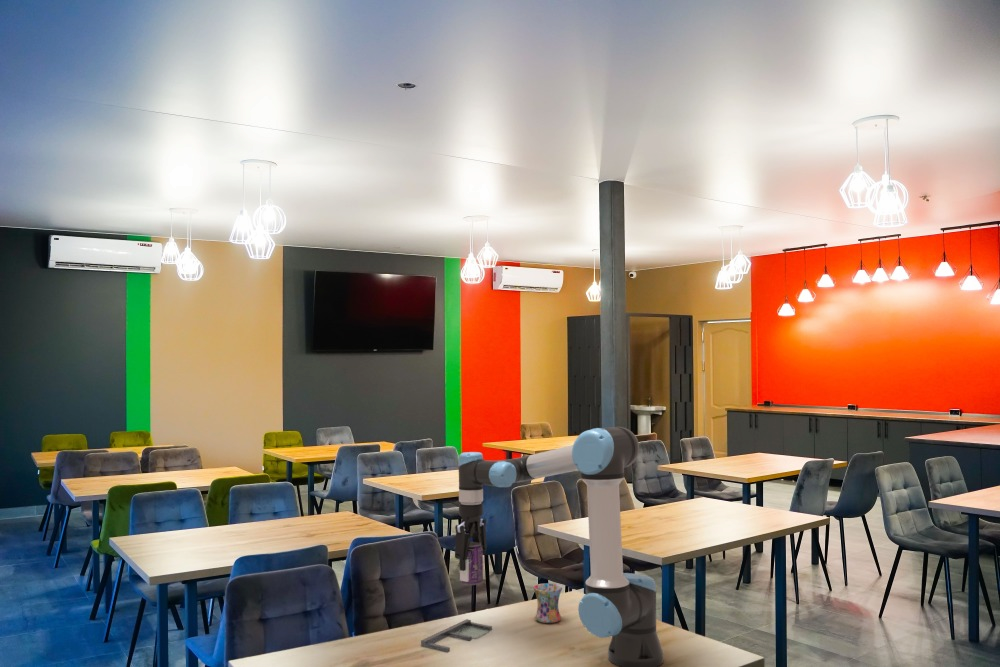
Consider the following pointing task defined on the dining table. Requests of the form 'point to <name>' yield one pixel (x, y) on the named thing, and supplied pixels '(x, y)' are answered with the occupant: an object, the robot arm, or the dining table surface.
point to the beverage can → (475, 564)
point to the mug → (547, 602)
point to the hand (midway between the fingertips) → (471, 578)
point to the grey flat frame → (456, 634)
